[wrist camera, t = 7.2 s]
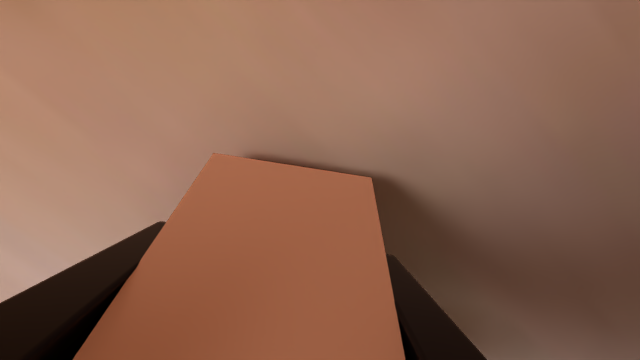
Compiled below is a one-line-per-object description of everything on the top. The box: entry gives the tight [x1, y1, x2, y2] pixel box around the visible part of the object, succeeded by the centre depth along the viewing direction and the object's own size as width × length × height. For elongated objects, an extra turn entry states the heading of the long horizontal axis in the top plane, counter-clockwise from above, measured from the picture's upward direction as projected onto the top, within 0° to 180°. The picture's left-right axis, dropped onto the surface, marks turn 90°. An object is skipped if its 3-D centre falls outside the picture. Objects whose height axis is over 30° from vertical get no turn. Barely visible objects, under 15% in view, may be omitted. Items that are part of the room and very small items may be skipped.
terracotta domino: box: [73, 153, 405, 360], centre depth 8 cm, size 2×4×8 cm, turn 81°
